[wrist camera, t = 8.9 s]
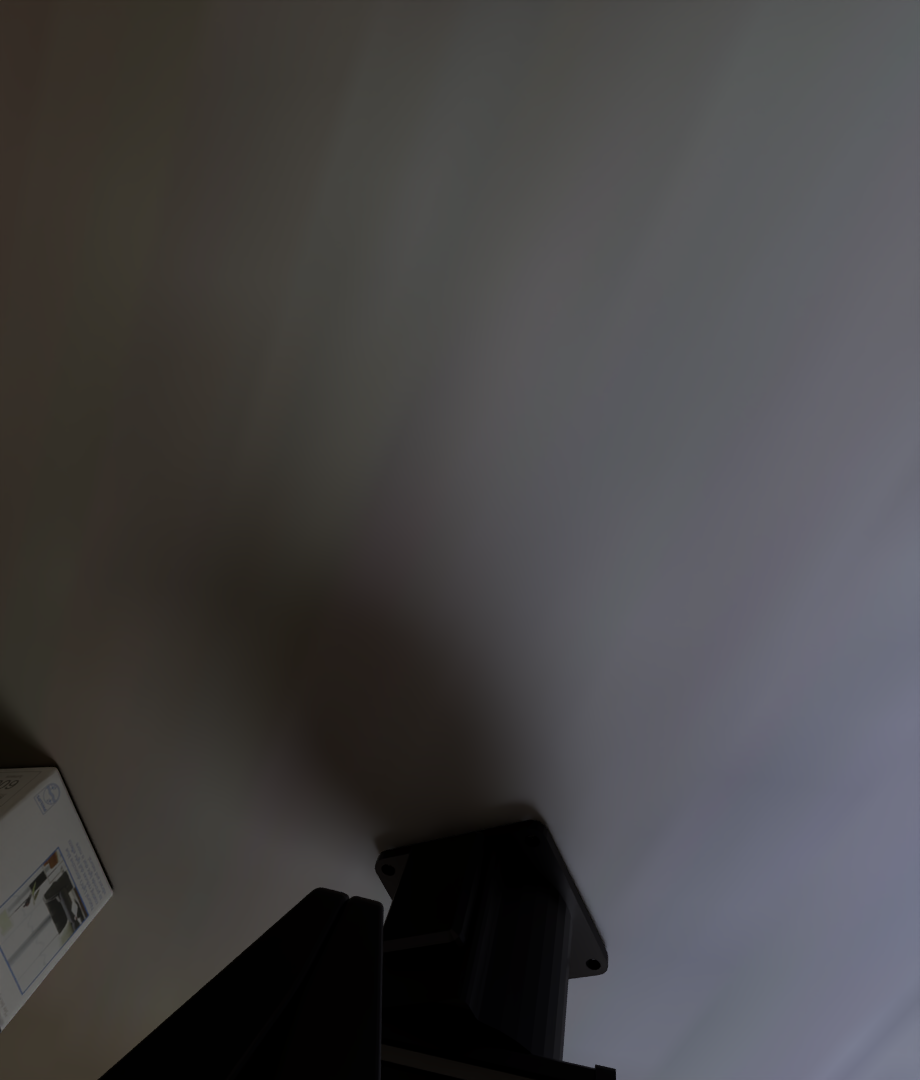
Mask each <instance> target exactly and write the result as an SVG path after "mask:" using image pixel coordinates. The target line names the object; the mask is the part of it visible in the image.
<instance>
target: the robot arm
mask: <svg viewBox="0 0 920 1080" xmlns="http://www.w3.org/2000/svg"><path fill="white" fill-rule="evenodd" d="M528 835H534V836H537V837H538V838H531V837H529V836H528ZM387 864H388V865H391V866H393V867H391V866H388V865H387ZM375 870H376V873H377V875H378V876H379V878H380V880H381V882H382V883H383V885H384V887H385V889H386V890H387V892H388V894H389V896H390V897H391V899H392V903H391V906H390V909H389V912H388V915H387V917H386V920H385V923H384V926H383V911H384V910H383V905H382V903H381V902H379V901H375V900H371V899H367V898H363V897H359V896H353V897H351V898H350V899H349V896H348V895H347V894H345V893H343V892H339V891H335V890H331V889H327V888H321V887H320V888H316V889H314V890H313V891H311V892H310V893H309V894H308V895H307V896H306V897H305V898H303V899H302V900H301V901H300V902H299V903H298V904H297V905H296V906H294V907H293V908H292V909H291V910H290V911H289V912H288V913H286V914H285V915H284V916H283V917H282V918H281V919H280V920H278V921H277V922H276V923H275V924H274V925H273V926H272V927H271V928H269V929H268V930H267V931H266V932H265V933H264V934H263V935H261V936H260V937H259V938H258V939H257V940H256V941H255V942H254V943H252V944H251V945H250V946H249V947H248V948H247V949H246V950H244V951H243V952H242V953H241V954H240V955H239V956H238V957H236V958H235V959H234V960H233V961H232V962H231V963H230V964H229V965H227V966H226V967H225V968H224V969H223V970H222V971H221V972H219V973H218V974H217V975H216V976H215V977H214V978H213V979H212V980H210V981H209V982H208V983H207V984H206V985H205V986H204V987H202V988H201V989H200V990H199V991H198V992H197V993H196V994H194V995H193V996H192V997H191V998H190V999H189V1000H188V1001H187V1002H185V1003H184V1004H183V1005H182V1006H181V1007H180V1008H179V1009H177V1010H176V1011H175V1012H174V1013H173V1014H172V1015H171V1016H169V1017H168V1018H167V1019H166V1020H165V1021H164V1022H163V1023H162V1024H160V1025H159V1026H158V1027H157V1028H156V1029H155V1030H154V1031H152V1032H151V1033H150V1034H149V1035H148V1036H147V1037H146V1038H144V1039H143V1040H142V1041H141V1042H140V1043H139V1044H138V1045H137V1046H135V1047H134V1048H133V1049H132V1050H131V1051H130V1052H129V1053H127V1054H126V1055H125V1056H124V1057H123V1058H122V1059H121V1060H120V1061H118V1062H117V1063H116V1064H115V1065H114V1066H113V1067H112V1068H110V1069H109V1070H108V1071H107V1072H106V1073H105V1074H104V1075H102V1076H101V1077H100V1078H99V1079H98V1080H616V1069H613V1068H609V1067H604V1066H600V1065H596V1064H595V1068H591V1067H586V1066H582V1065H578V1064H573V1063H569V1062H564V1061H562V1060H563V1046H564V1033H565V1019H566V1006H567V992H568V979H572V978H580V977H588V976H595V975H600V974H603V973H605V972H606V971H607V968H608V953H607V951H606V949H605V947H604V945H603V943H602V940H601V938H600V936H599V934H598V932H597V930H596V928H595V926H594V924H593V922H592V920H591V918H590V916H589V914H588V912H587V910H586V907H585V905H584V903H583V901H582V899H581V897H580V895H579V893H578V891H577V889H576V887H575V885H574V883H573V881H572V879H571V877H570V875H569V872H568V870H567V868H566V866H565V864H564V862H563V860H562V858H561V856H560V854H559V852H558V850H557V848H556V846H555V844H554V842H553V840H552V837H551V835H550V833H549V831H548V829H547V828H546V827H545V825H543V824H542V823H540V822H538V821H535V820H528V821H523V822H518V823H513V824H509V825H504V826H499V827H495V828H490V829H485V830H480V831H476V832H471V833H466V834H462V835H457V836H452V837H447V838H443V839H438V840H433V841H429V842H424V843H419V844H414V845H410V846H405V847H400V848H396V849H391V850H386V851H384V852H381V854H380V855H379V857H378V859H377V862H376V864H375ZM592 959H595V960H592Z"/></svg>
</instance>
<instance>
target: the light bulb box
mask: <svg viewBox="0 0 920 1080" xmlns="http://www.w3.org/2000/svg"><path fill="white" fill-rule="evenodd" d="M112 895H113V890H112V888H111V886H110V884H109V882H108V880H107V878H106V876H105V873H104V871H103V869H102V867H101V865H100V862H99V860H98V858H97V856H96V853H95V851H94V849H93V847H92V844H91V842H90V840H89V838H88V836H87V833H86V831H85V829H84V827H83V824H82V822H81V820H80V818H79V816H78V814H77V812H76V809H75V807H74V805H73V802H72V800H71V798H70V796H69V793H68V791H67V789H66V787H65V784H64V782H63V780H62V777H61V775H60V773H59V771H58V769H57V768H56V767H38V768H15V769H0V1033H1V1032H2V1030H3V1029H4V1028H5V1027H6V1025H7V1024H8V1023H9V1022H10V1021H11V1019H12V1018H13V1017H14V1016H15V1014H16V1013H17V1012H18V1011H19V1009H20V1008H21V1007H22V1006H23V1005H24V1003H25V1002H26V1001H27V1000H28V998H29V997H30V996H31V995H32V993H33V992H34V991H35V990H36V988H37V987H38V986H39V985H40V984H41V982H42V981H43V980H44V979H45V977H46V976H47V975H48V974H49V972H50V971H51V970H52V969H53V967H54V966H55V965H56V964H57V963H58V961H59V960H60V959H61V958H62V957H63V955H64V954H65V953H66V952H67V950H68V949H69V948H70V947H71V945H72V944H73V943H74V942H75V941H76V939H77V938H78V937H79V936H80V934H81V933H82V932H83V931H84V930H85V928H86V927H87V926H88V925H89V923H90V922H91V921H92V920H93V919H94V917H95V916H96V915H97V913H98V912H99V911H100V910H101V909H102V907H103V906H104V905H105V904H106V903H107V901H108V900H109V899H110V898H111V897H112Z"/></svg>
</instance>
